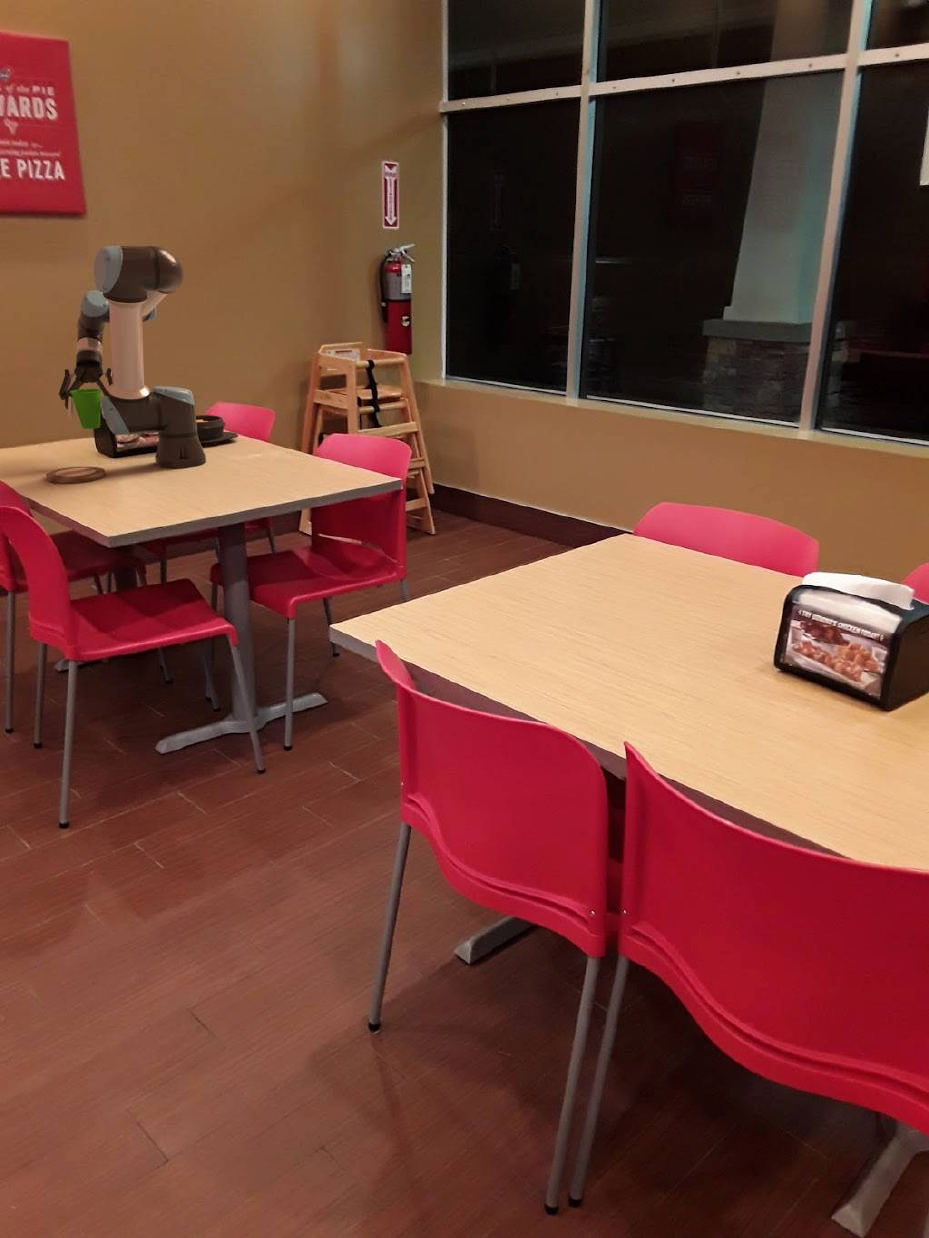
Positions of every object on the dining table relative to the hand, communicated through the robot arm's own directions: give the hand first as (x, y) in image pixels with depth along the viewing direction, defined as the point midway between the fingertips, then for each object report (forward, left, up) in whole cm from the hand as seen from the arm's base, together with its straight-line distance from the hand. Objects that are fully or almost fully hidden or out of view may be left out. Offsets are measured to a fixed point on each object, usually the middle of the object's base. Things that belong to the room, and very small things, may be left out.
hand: (87, 416), depth 283 cm
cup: (+2, -3, -4) cm, 5 cm away
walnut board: (-5, +14, -15) cm, 22 cm away
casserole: (-9, -43, -16) cm, 46 cm away
